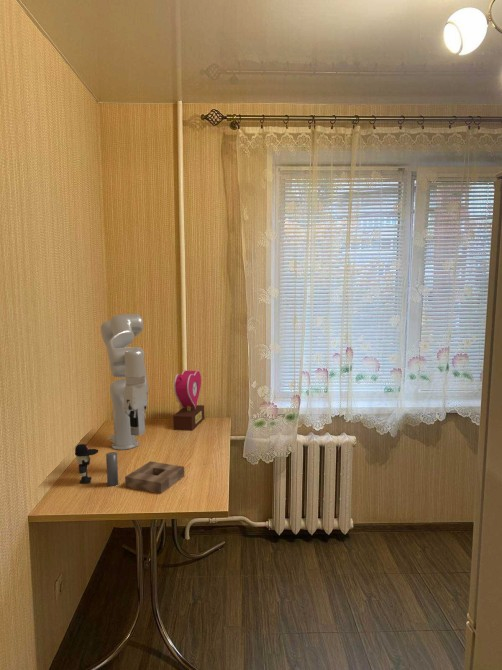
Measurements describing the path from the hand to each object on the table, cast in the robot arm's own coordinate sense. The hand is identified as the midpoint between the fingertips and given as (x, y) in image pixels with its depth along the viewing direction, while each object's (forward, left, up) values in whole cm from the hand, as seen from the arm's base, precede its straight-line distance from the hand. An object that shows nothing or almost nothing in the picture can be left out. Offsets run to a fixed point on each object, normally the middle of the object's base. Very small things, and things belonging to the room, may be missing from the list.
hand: (137, 424), depth 189 cm
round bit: (-2, -15, -19) cm, 24 cm away
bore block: (+12, -7, -19) cm, 24 cm away
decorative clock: (-13, +60, -20) cm, 65 cm away
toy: (-13, -16, -20) cm, 28 cm away
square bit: (0, 0, -4) cm, 4 cm away
